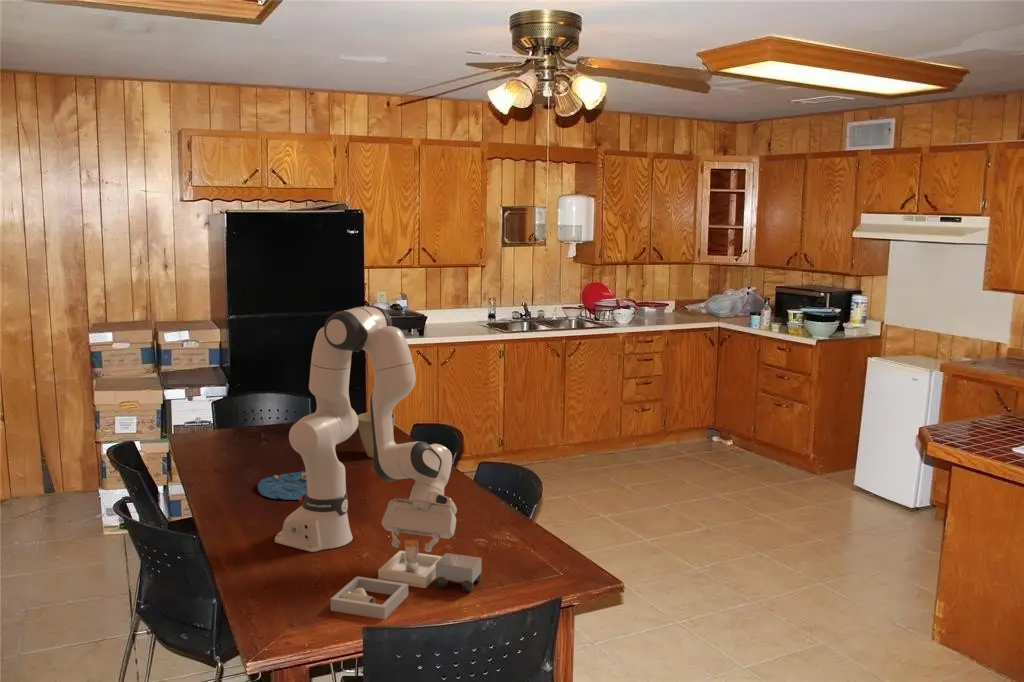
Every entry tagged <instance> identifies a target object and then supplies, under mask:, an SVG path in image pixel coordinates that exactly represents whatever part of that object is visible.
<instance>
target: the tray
mask: <svg viewBox="0 0 1024 682" xmlns="http://www.w3.org/2000/svg"><path fill="white" fill-rule="evenodd" d="M418 555H419V572H418V573H409V572H406V571H405V550H398V552H397V553H395V554H394V555H393V556H392V557H391V558H389V560H388V561H387V562H385V563H384V564H383V565H382V566H381V567H379V569H378V570H377V575H378V576H377V579H378V580H385V581H392V582H398V583H405V584H408V587H410V586H411V587H416V588H421V589H422V588H423V589H426V588H427V587H428V586H429V585H430V584H431V583H432V582H433V581H434V580H436V579H437V578H436V562H437V561H438V560H439V559H440V558H441V557H442V556H443V555H434V554H427V553H422V552H420V553H419V552H418Z"/></svg>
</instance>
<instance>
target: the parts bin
mask: <svg viewBox="0 0 1024 682" xmlns="http://www.w3.org/2000/svg"><path fill="white" fill-rule="evenodd" d="M356 588H363V589H364V590H365V591H366V592H370V593H375V594H383V595H390V596H389V598H387V599H386V600H385V601H384V603H383V604H380V603H376V602H375V603H369V602H362V601H356V600H350V599H344V598H340V596H341V594H342V593H343V591H344V590H346V591H350V592H353V591H354V590H355V589H356ZM408 596H409V585H408V584H405V583H398V582H392V581H385V580H378V578H370V577H365V576H356V577H354V578H352V580H351V581H350V582H348V583H347V584H346V585H345V586H344V587H343V588H341V589H340V590H339V591H338V592H337V593H335V595H333V596H332V597H331V598H330V611H331V612H335V613H336V612H337V613H344V614H349V615H355V616H360V617H362V616H363V617H367V618H373V619H379V620H386V619H387V618H388V617H389V616H390V615H391V614H392V612H394V611H395V610H396V609H397V608H398V607H399V606H400V604H401V603H403V602H404V600H405V599H406V598H407V597H408Z"/></svg>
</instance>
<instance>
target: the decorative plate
mask: <svg viewBox="0 0 1024 682" xmlns="http://www.w3.org/2000/svg"><path fill="white" fill-rule="evenodd" d="M257 490H258V493H260V495H262V496H263V497H266V498H270V499H272V500H274V499H275V500H282V499H283V501H288V500H290V501H293V500H294V501H297V500H298V501H299V500H300V499H299V498H300V497H302V496H303V495H304V494H306V493H307V479H306V471H299V472H298V471H297V472H296V471H294V472H289V473H281V474H280V475H279V474H278V475H277V474H273V476H270V477H269V476H268V477H265V478H263V479H260V480H259V482H258V484H257Z"/></svg>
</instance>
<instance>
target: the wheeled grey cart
mask: <svg viewBox="0 0 1024 682" xmlns="http://www.w3.org/2000/svg"><path fill="white" fill-rule="evenodd" d="M441 556H442V557H441V558H440V559H439V560H438V561H437V562H436V578H435V579H434V580H435V581H434V584H435V586H436V588H438V589H440V590H442V589H445V588H446V587H447V586H448V585H449V581H452V582H459V583H460V589H461V591H462V592H464V593H467V594H469V593H470V592H471V591H472V590H473V589H474V586H475V584H474V583H476V584H477V583H478V582H480V580H481V579H482V578H483V577H482V576H483V574H482V571H483V565H482V557H479V556H478V557H477V556H471V555H463V554H455V553H450V552H449V553H448V552H445V553H444V554H443V555H441Z"/></svg>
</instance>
